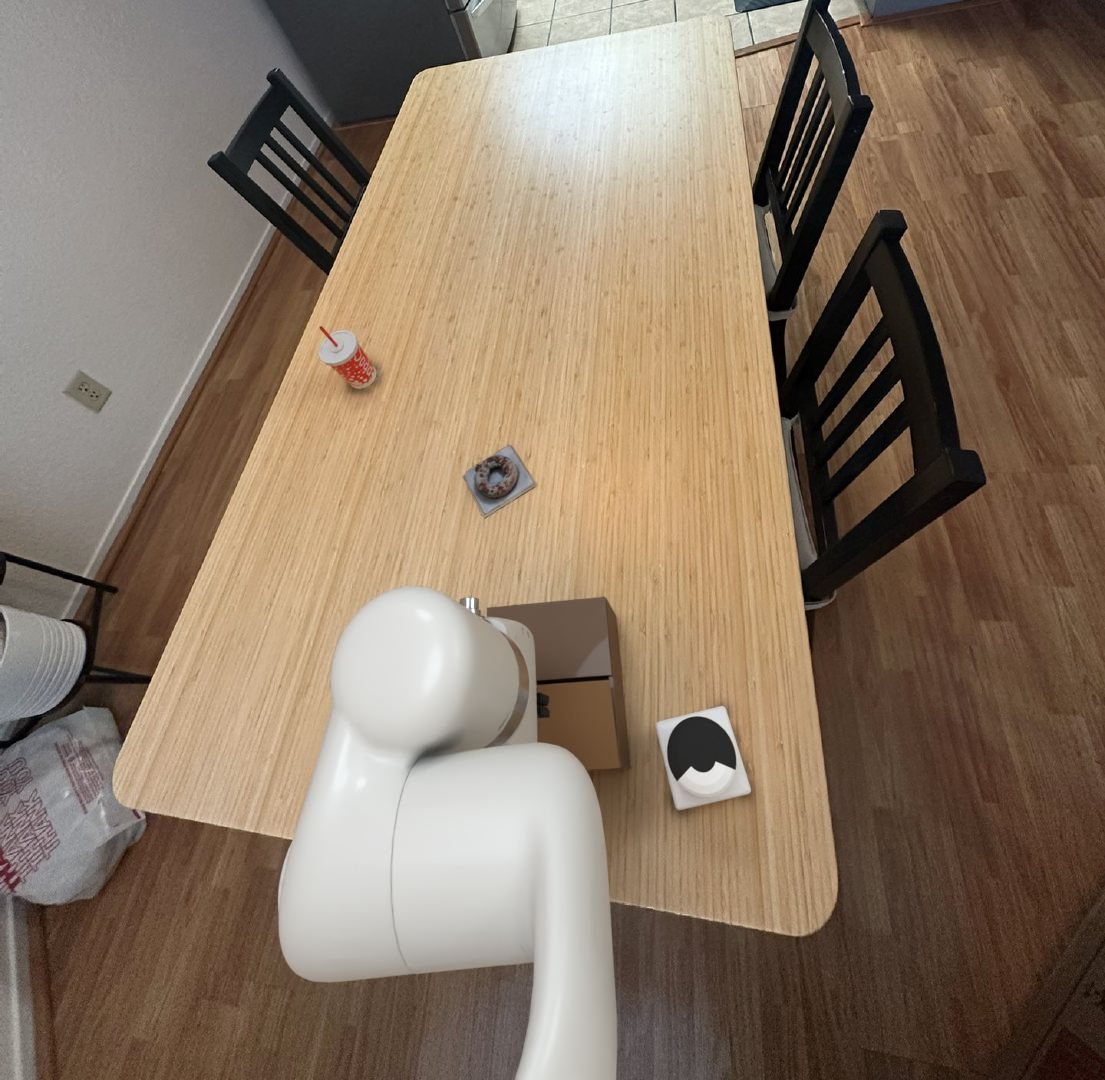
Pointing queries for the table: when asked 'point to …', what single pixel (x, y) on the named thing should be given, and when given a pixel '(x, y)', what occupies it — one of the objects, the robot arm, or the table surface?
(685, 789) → the medicine bottle
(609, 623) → the carton
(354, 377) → the beverage cup
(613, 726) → the front flap
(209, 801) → the table surface
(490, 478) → the donut
